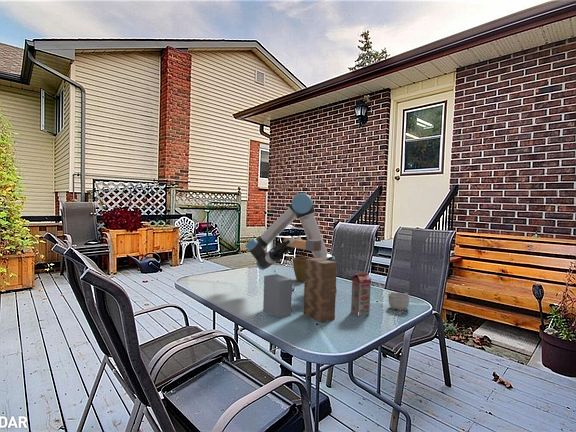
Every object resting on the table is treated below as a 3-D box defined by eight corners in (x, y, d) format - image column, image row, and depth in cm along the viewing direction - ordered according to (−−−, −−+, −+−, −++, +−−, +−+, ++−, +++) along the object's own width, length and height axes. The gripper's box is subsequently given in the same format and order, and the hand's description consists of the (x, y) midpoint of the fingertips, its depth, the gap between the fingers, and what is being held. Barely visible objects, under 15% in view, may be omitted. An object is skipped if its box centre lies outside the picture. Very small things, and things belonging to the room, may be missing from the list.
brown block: (282, 245, 181) (282, 236, 181) (291, 245, 185) (291, 236, 184) (312, 251, 162) (312, 241, 162) (321, 250, 166) (321, 240, 166)
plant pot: (312, 283, 231) (313, 260, 231) (291, 282, 231) (292, 259, 231) (311, 278, 246) (312, 257, 245) (291, 277, 246) (292, 256, 246)
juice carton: (350, 312, 172) (352, 270, 171) (361, 311, 174) (363, 269, 173) (358, 316, 166) (360, 273, 165) (369, 315, 168) (371, 272, 167)
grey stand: (263, 310, 170) (264, 275, 170) (275, 307, 175) (276, 274, 174) (278, 318, 160) (279, 281, 159) (291, 314, 165) (292, 279, 164)
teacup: (398, 313, 174) (399, 297, 173) (383, 306, 183) (384, 292, 183) (417, 309, 180) (417, 295, 180) (401, 304, 190) (402, 290, 189)
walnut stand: (303, 314, 167) (305, 259, 166) (315, 311, 172) (317, 257, 170) (322, 322, 156) (325, 263, 155) (334, 319, 161) (336, 262, 160)
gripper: (287, 260, 196) (311, 244, 180) (263, 262, 185) (286, 245, 169) (283, 248, 199) (306, 231, 182) (260, 250, 188) (282, 232, 172)
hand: (297, 238), depth 176 cm, fingers closed on brown block, 4 cm apart
